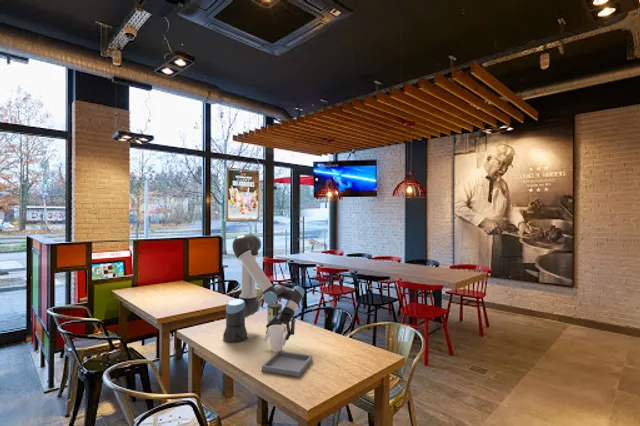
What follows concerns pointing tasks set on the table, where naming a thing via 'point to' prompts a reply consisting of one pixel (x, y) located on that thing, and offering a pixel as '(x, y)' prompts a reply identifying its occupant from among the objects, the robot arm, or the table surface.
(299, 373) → the tray
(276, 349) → the foam cup
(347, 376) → the table surface
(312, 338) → the table surface
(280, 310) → the coffee can
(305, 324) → the table surface
